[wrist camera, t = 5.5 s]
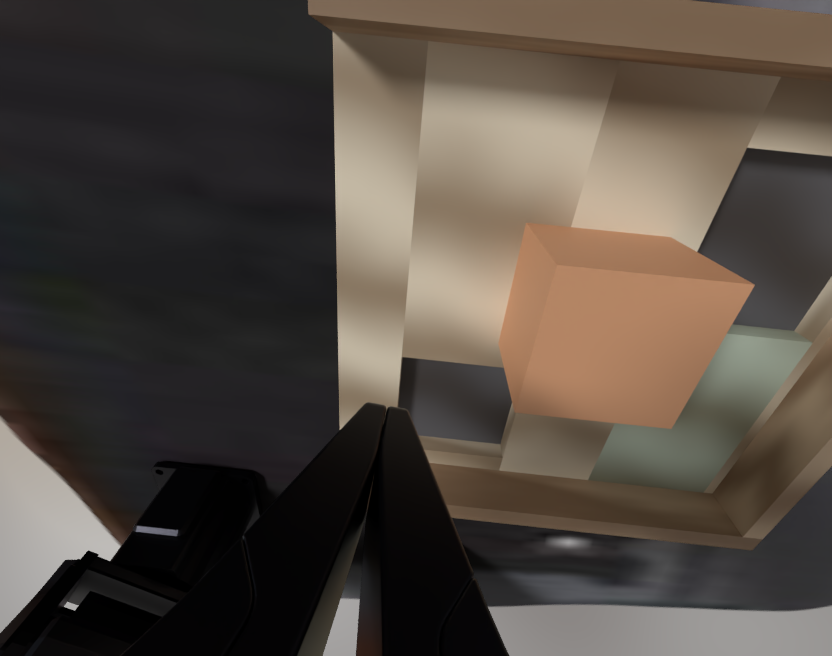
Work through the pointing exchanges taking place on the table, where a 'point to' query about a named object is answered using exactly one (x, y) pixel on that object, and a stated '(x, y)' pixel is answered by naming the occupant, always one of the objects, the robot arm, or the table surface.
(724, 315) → the rust block
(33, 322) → the table surface
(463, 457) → the tray
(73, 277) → the table surface
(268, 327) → the table surface
